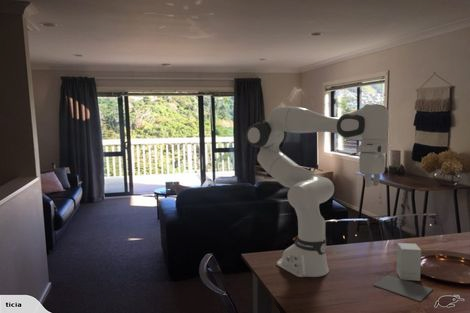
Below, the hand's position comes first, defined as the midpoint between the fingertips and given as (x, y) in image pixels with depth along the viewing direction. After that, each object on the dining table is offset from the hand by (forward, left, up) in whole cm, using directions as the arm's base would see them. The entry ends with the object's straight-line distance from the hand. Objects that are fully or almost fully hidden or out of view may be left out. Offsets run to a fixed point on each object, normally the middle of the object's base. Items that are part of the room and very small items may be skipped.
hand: (372, 186), depth 131 cm
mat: (+8, +9, -39) cm, 41 cm away
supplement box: (+6, +20, -40) cm, 45 cm away
